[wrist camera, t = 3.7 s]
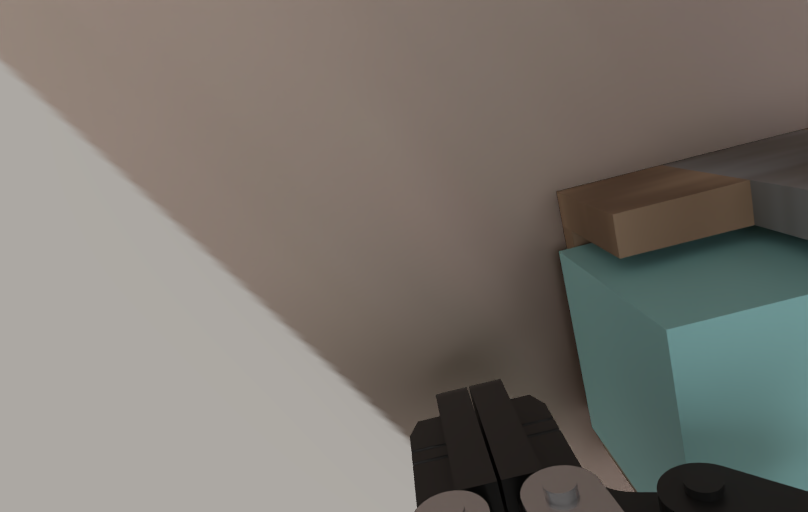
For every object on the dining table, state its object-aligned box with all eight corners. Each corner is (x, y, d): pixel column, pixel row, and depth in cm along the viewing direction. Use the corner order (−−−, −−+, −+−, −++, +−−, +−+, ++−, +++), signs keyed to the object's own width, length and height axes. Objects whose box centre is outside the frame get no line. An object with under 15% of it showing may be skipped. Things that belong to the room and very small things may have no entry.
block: (813, 187, 16) (1072, 228, 10) (828, 368, 17) (1065, 500, 11) (558, 251, 16) (665, 329, 10) (592, 427, 17) (704, 588, 11)
